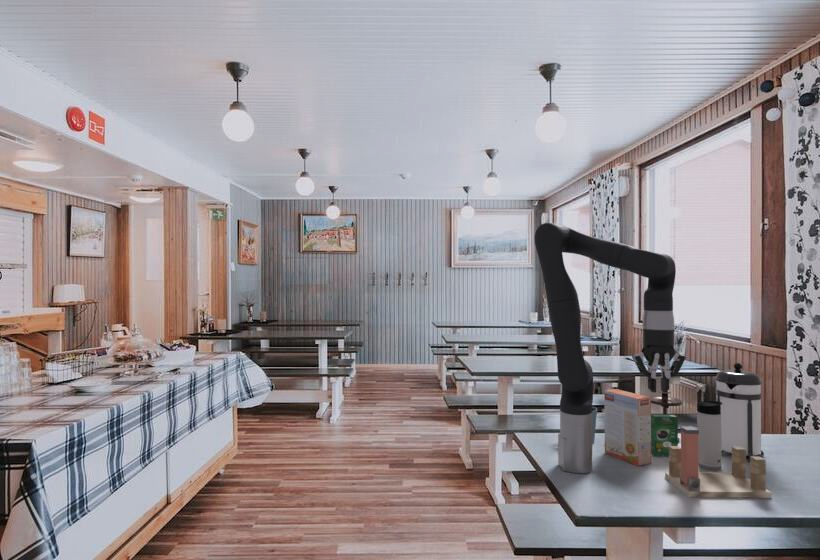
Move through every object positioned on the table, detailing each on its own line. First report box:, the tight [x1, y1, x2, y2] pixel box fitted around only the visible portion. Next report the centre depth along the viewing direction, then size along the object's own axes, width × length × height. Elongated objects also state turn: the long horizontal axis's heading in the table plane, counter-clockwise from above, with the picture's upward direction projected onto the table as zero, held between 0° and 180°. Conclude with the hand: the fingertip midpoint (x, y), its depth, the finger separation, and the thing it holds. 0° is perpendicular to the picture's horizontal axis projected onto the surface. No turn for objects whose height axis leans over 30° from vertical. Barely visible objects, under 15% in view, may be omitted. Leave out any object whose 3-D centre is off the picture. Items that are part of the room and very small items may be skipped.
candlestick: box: [650, 390, 683, 444], centre depth 175 cm, size 11×11×35 cm
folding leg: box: [680, 426, 700, 485], centre depth 131 cm, size 3×3×14 cm
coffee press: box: [714, 362, 765, 463], centre depth 160 cm, size 17×16×30 cm
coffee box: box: [651, 413, 679, 457], centre depth 159 cm, size 8×3×13 cm, turn 91°
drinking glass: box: [592, 405, 598, 444], centre depth 174 cm, size 10×10×12 cm
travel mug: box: [696, 400, 723, 472], centre depth 149 cm, size 6×7×20 cm
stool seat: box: [664, 446, 772, 499], centre depth 134 cm, size 21×14×10 cm, turn 88°
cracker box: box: [604, 388, 652, 467], centre depth 157 cm, size 14×6×21 cm, turn 22°
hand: (658, 391), depth 131 cm, fingers open, 2 cm apart
